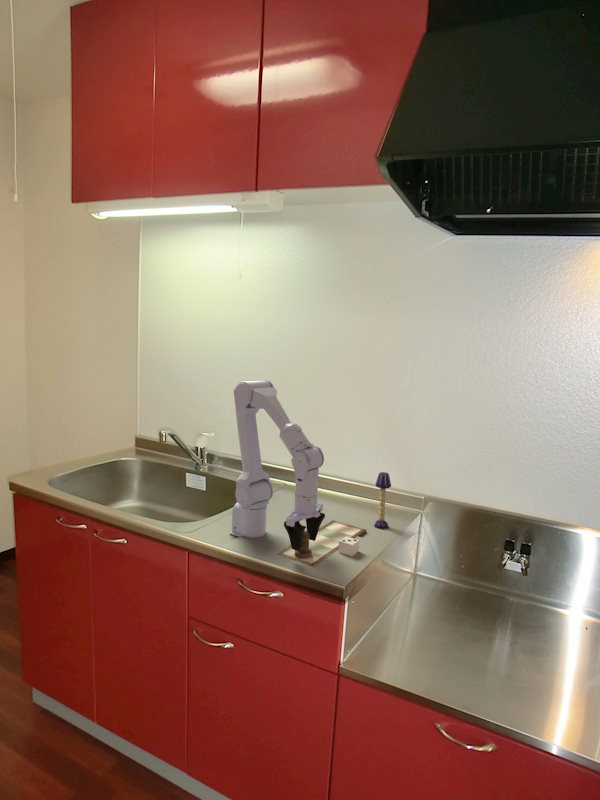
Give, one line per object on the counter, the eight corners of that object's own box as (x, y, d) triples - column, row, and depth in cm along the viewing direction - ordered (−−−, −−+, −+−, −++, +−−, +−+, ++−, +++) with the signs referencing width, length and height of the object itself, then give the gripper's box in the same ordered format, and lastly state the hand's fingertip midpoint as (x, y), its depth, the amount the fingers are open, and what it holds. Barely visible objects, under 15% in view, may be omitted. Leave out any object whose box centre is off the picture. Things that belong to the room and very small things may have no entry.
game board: (276, 556, 135) (276, 553, 135) (332, 522, 160) (332, 520, 160) (313, 569, 129) (313, 566, 129) (366, 532, 154) (366, 529, 154)
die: (338, 555, 138) (339, 540, 137) (345, 550, 141) (346, 536, 141) (351, 559, 136) (352, 544, 135) (358, 554, 139) (359, 539, 139)
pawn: (291, 555, 135) (292, 531, 134) (300, 549, 138) (301, 526, 137) (305, 560, 132) (306, 536, 131) (314, 554, 136) (315, 530, 135)
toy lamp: (370, 526, 158) (374, 473, 156) (375, 521, 162) (379, 470, 160) (385, 530, 156) (389, 476, 154) (390, 525, 160) (394, 472, 158)
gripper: (304, 505, 125) (301, 558, 127) (333, 490, 137) (331, 539, 139) (280, 498, 128) (278, 550, 130) (310, 484, 140) (308, 532, 142)
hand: (303, 544), depth 135 cm, fingers open, 7 cm apart
